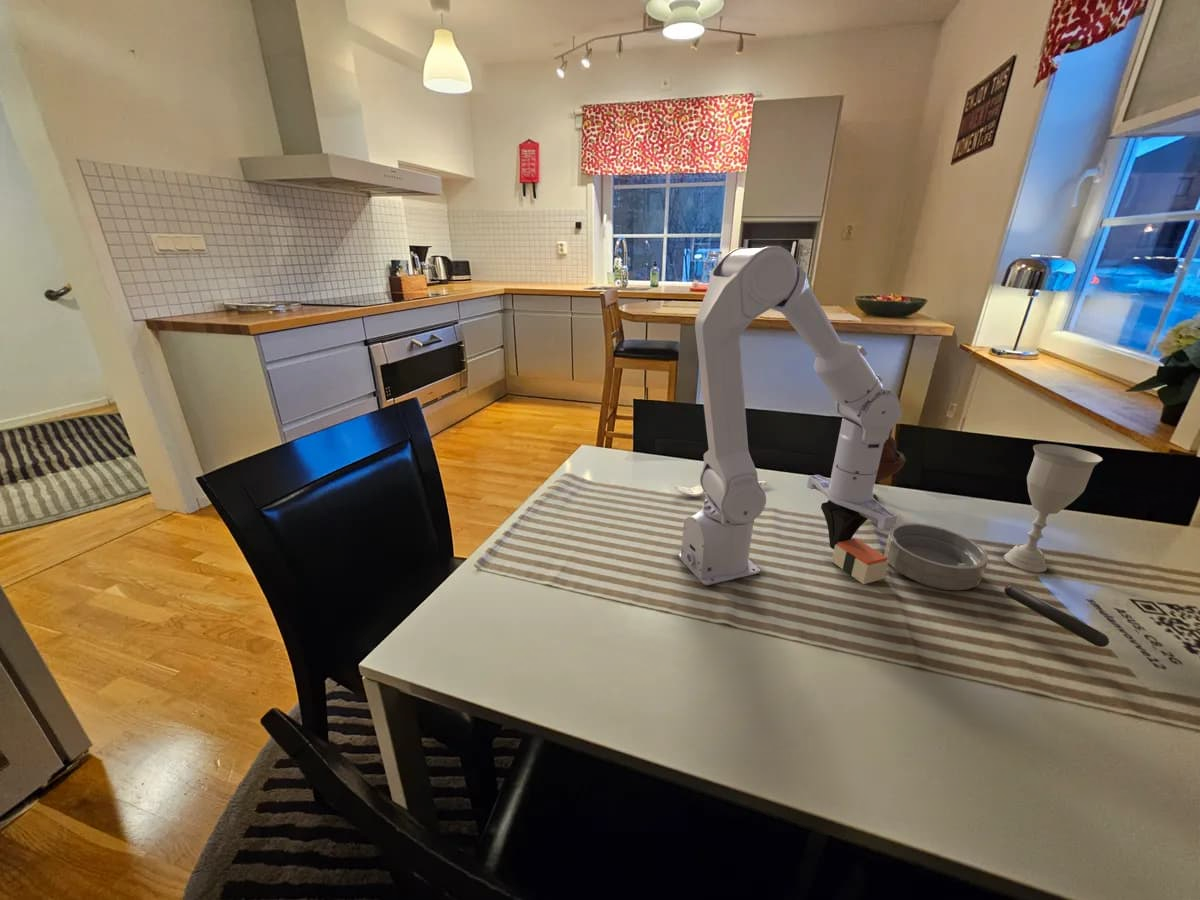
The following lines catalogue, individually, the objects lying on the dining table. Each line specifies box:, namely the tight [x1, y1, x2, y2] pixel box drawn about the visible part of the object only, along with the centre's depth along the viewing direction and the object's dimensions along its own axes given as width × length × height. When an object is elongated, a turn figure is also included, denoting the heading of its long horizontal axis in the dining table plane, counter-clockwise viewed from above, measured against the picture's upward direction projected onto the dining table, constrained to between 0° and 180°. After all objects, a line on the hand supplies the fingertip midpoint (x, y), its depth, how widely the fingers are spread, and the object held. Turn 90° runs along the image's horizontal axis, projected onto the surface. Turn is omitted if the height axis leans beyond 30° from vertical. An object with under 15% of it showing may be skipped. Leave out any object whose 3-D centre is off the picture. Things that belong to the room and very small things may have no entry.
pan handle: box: [1004, 584, 1110, 648], centre depth 59 cm, size 2×11×2 cm, turn 20°
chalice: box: [1003, 443, 1103, 573], centre depth 71 cm, size 7×7×18 cm
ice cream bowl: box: [873, 434, 907, 502], centre depth 92 cm, size 11×11×15 cm
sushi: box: [831, 537, 889, 585], centre depth 72 cm, size 4×6×4 cm
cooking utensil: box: [671, 480, 768, 497], centre depth 97 cm, size 3×20×2 cm, turn 103°
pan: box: [883, 522, 989, 591], centre depth 73 cm, size 12×12×4 cm
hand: (837, 547), depth 76 cm, fingers closed
